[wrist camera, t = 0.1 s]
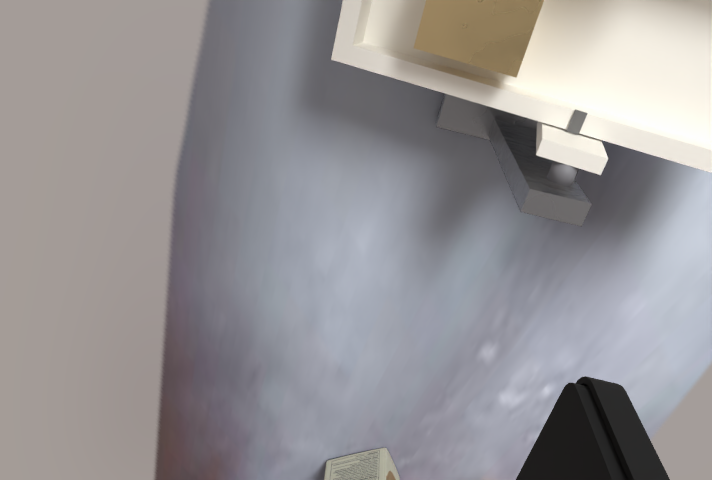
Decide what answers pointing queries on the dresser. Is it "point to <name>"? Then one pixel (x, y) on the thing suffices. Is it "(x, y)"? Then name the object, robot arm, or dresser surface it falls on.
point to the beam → (568, 75)
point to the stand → (517, 158)
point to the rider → (479, 31)
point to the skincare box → (362, 466)
